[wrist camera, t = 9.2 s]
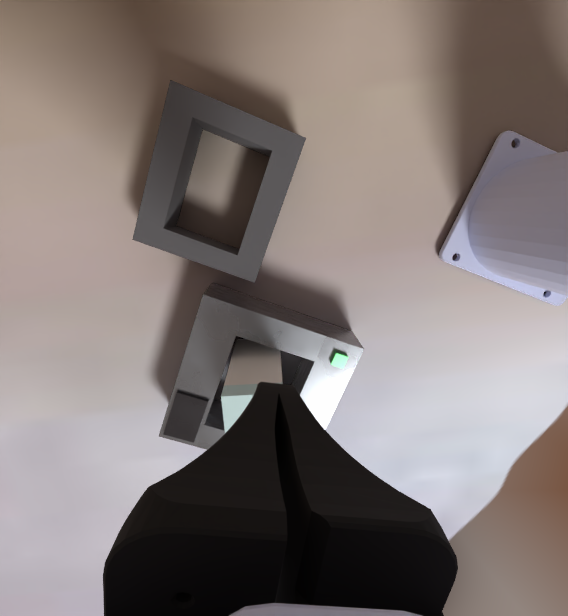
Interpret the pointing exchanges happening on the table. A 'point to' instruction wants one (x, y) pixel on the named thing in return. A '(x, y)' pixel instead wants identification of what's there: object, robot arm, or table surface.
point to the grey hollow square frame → (177, 168)
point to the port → (265, 330)
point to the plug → (248, 376)
